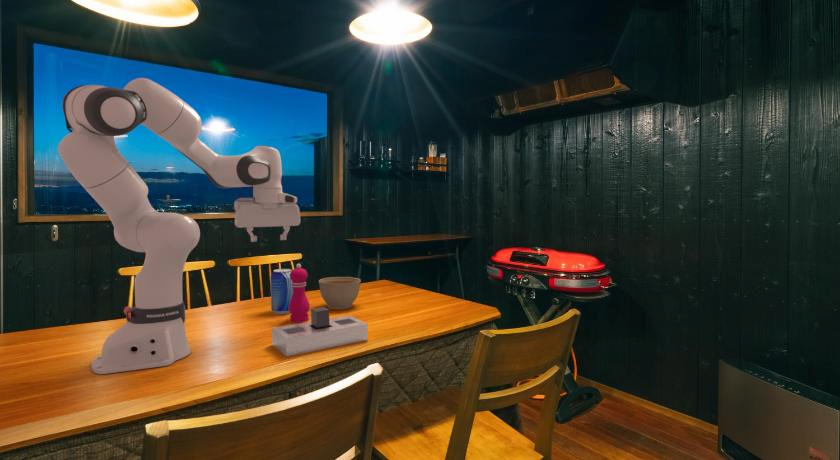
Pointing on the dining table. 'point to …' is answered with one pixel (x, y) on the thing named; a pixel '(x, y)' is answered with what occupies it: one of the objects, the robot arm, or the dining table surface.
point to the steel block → (319, 318)
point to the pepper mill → (299, 295)
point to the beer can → (281, 291)
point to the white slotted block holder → (318, 335)
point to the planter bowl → (339, 291)
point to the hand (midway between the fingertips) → (268, 240)
